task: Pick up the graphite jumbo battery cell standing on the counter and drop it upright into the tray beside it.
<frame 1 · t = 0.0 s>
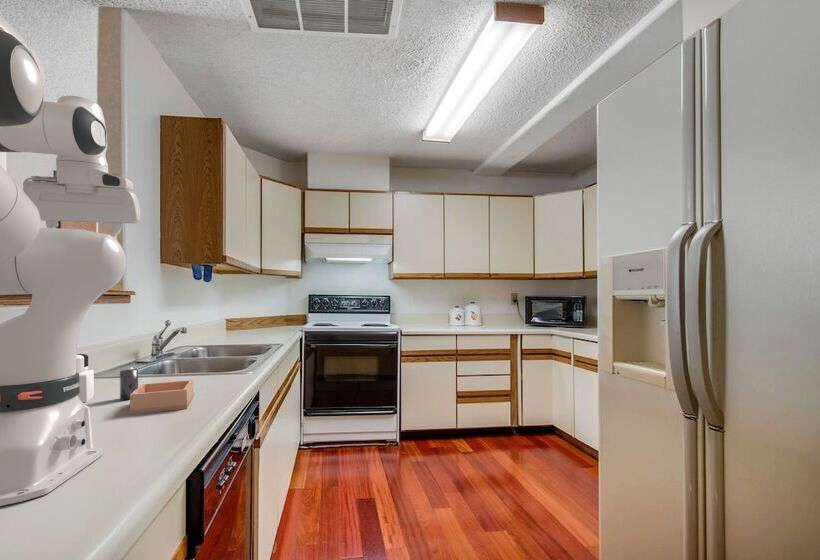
hand: (86, 243, 91), 39 cm above the counter, tool pointing down, fingers open, 8 cm apart
battery cell: (129, 398, 110), on the counter
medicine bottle: (73, 401, 108), on the counter
tray: (164, 405, 103), on the counter
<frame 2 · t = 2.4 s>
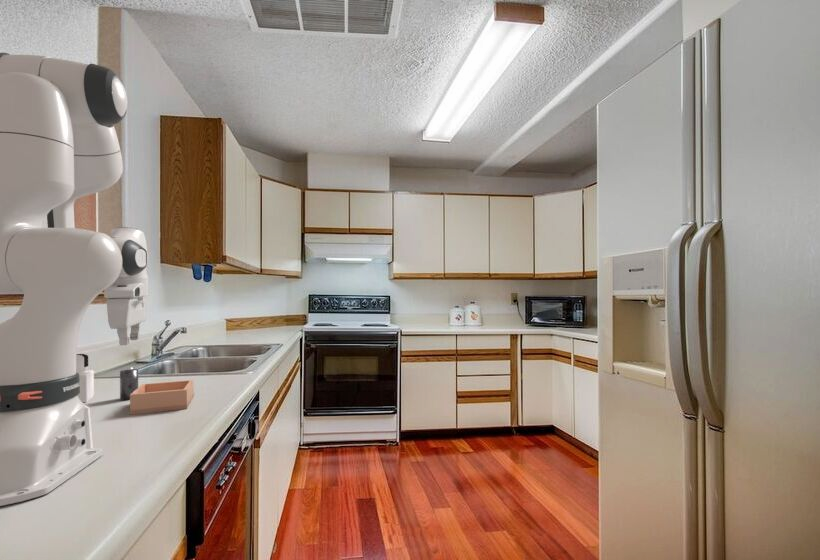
hand: (129, 342, 111), 15 cm above the counter, tool pointing down, fingers open, 8 cm apart
nothing on the counter moved.
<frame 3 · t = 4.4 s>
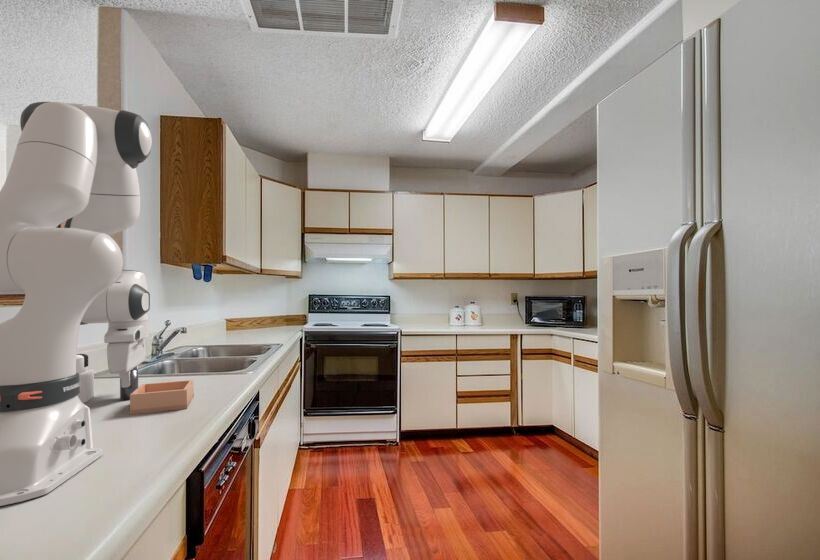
hand: (129, 384, 110), 4 cm above the counter, tool pointing down, fingers closed on battery cell, 4 cm apart
battery cell: (129, 398, 110), on the counter, touching gripper
everything else where it was.
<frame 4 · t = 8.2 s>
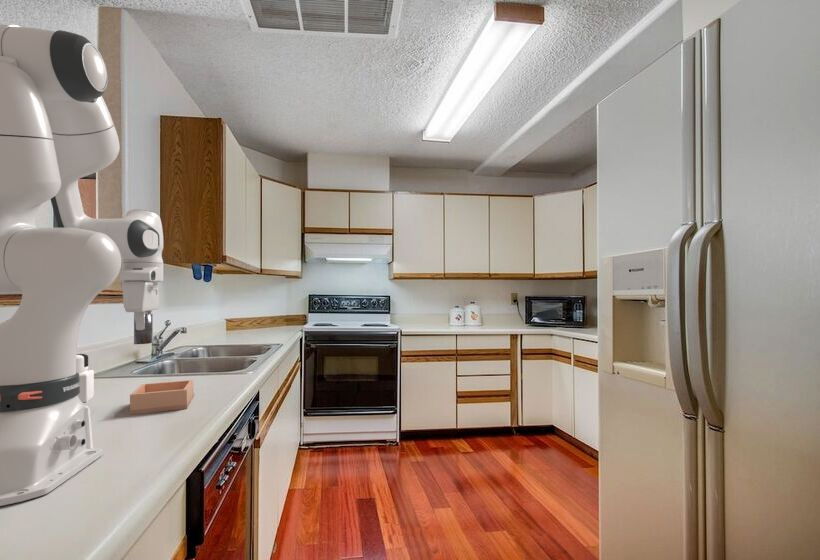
hand: (143, 329, 107), 18 cm above the counter, tool pointing down, fingers closed on battery cell, 4 cm apart
battery cell: (143, 343, 107), point 15 cm above the counter, touching gripper
everything else where it was.
when the fingers open (6 cm above the counter, at t = 12.1 s): battery cell drops 1 cm, resting on tray.
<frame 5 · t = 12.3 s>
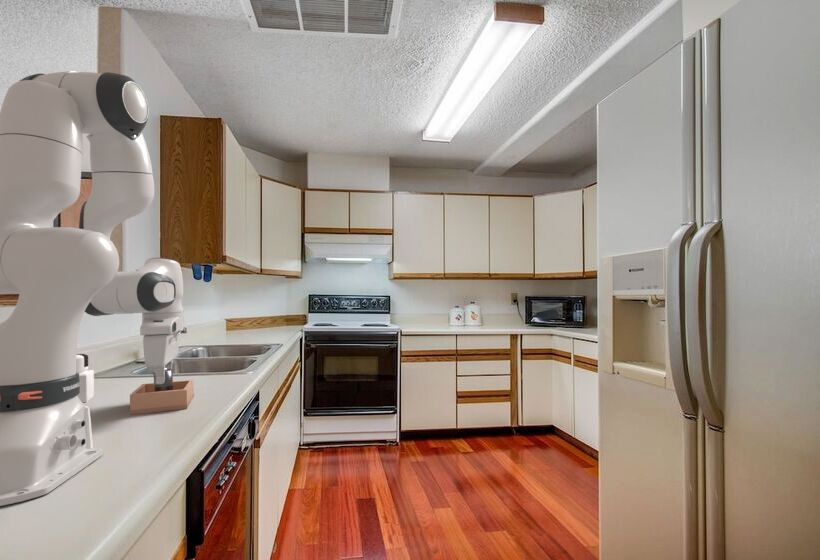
hand: (163, 380, 103), 6 cm above the counter, tool pointing down, fingers open, 6 cm apart
battery cell: (164, 400, 103), point 1 cm above the counter, touching tray
everything else where it was.
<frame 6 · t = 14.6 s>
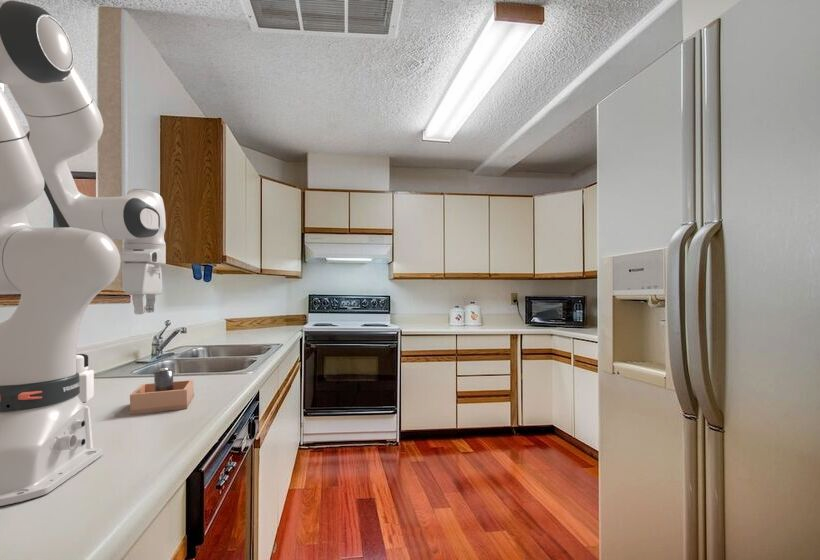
hand: (145, 313, 103), 23 cm above the counter, tool pointing down, fingers open, 8 cm apart
nothing on the counter moved.
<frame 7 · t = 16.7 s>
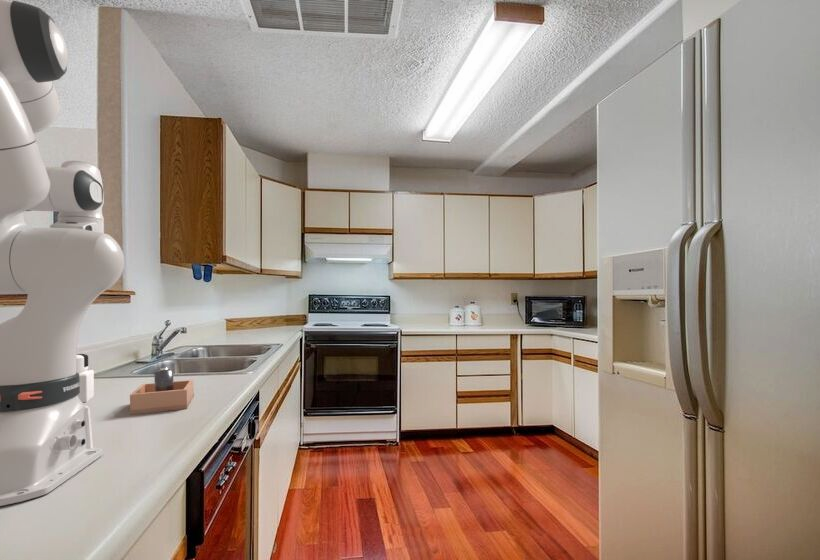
hand: (81, 288, 101), 29 cm above the counter, tool pointing down, fingers open, 8 cm apart
nothing on the counter moved.
at the end: battery cell 0.0 cm off-centre on the tray, point 1.0 cm above the tray's base; battery cell tilted 1°; the gripper is holding nothing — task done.
